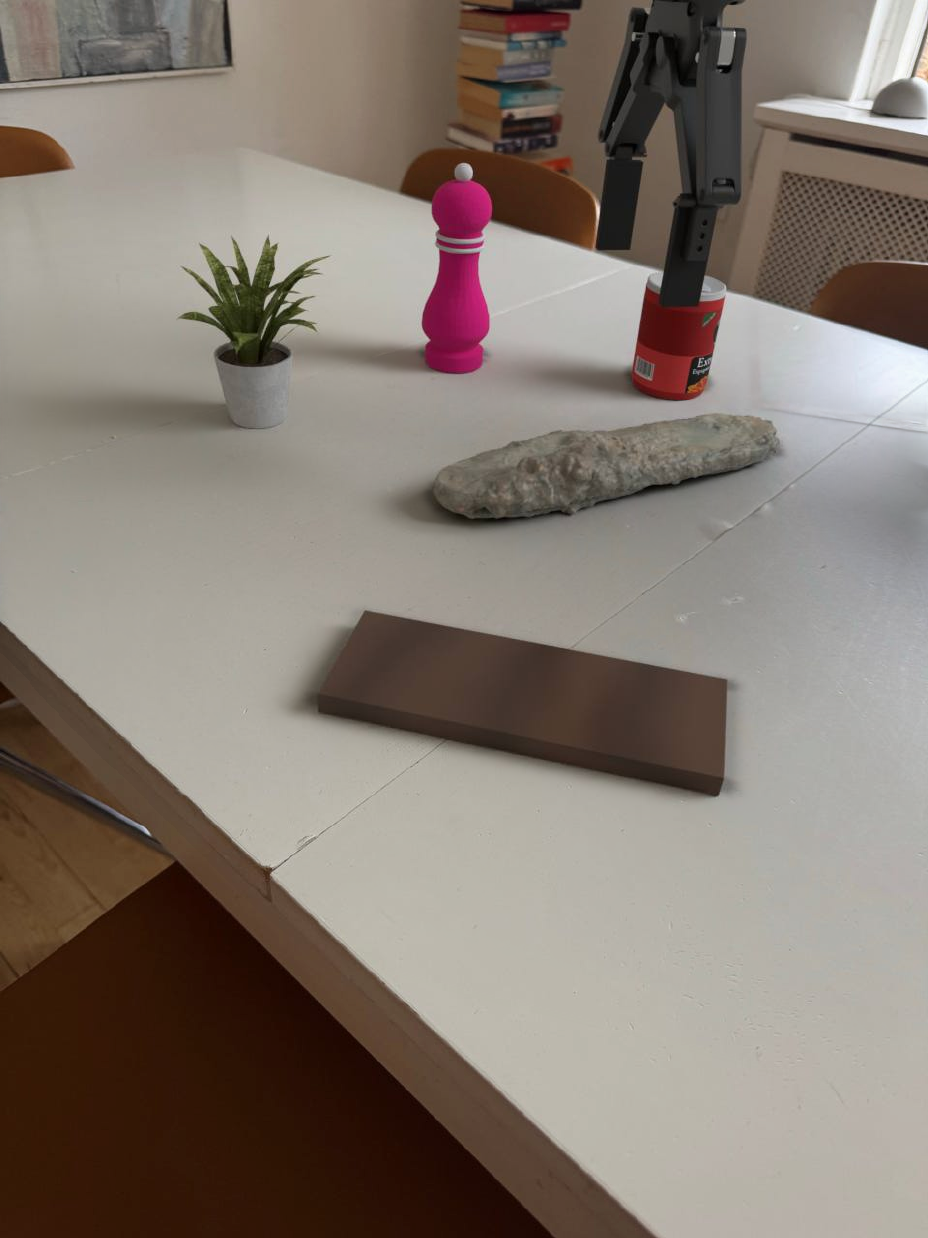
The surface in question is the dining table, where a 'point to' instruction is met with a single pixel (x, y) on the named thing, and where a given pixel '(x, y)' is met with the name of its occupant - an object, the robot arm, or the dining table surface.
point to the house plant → (253, 336)
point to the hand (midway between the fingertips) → (642, 275)
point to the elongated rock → (599, 465)
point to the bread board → (533, 700)
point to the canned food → (676, 342)
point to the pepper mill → (458, 276)
